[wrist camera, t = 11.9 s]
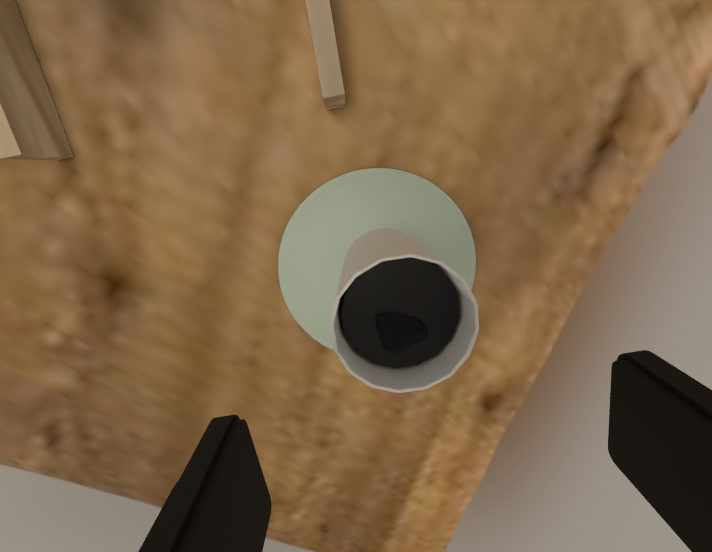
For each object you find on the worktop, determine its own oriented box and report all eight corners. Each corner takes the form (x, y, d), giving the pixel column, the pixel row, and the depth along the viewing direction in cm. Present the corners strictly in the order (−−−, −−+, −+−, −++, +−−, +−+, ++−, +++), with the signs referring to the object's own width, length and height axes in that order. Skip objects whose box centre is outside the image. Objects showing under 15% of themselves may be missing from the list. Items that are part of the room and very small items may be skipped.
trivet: (463, 150, 24) (467, 150, 24) (479, 338, 28) (483, 343, 27) (259, 187, 25) (256, 188, 24) (302, 367, 29) (301, 373, 28)
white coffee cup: (441, 295, 26) (495, 367, 17) (355, 324, 27) (358, 410, 17) (415, 207, 24) (458, 231, 15) (322, 240, 25) (306, 284, 15)
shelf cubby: (302, -156, 20) (290, -234, 16) (345, 106, 23) (344, 94, 20) (-39, -84, 20) (-129, -143, 16) (56, 160, 24) (0, 158, 20)
